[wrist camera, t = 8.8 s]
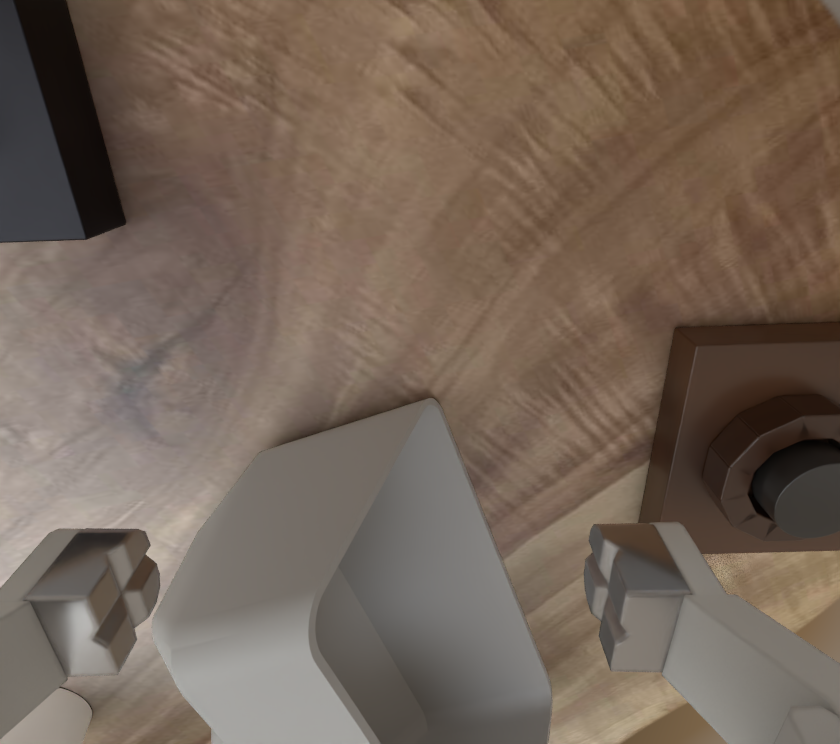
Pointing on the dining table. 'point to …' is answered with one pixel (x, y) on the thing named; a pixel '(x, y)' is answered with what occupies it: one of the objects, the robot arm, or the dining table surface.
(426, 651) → the grey storage bin
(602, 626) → the robot arm
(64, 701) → the white tapered cylinder
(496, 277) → the dining table surface
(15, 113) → the panel
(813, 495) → the button
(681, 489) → the button block
